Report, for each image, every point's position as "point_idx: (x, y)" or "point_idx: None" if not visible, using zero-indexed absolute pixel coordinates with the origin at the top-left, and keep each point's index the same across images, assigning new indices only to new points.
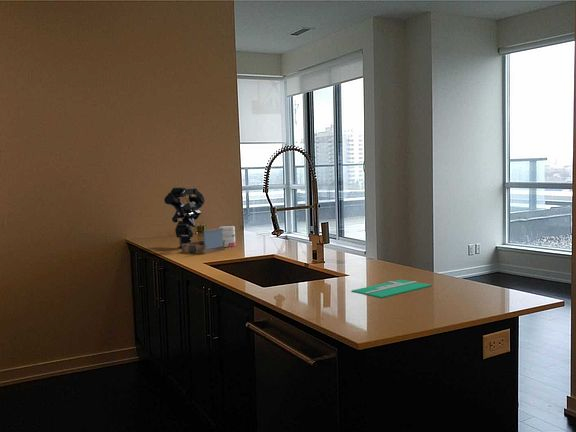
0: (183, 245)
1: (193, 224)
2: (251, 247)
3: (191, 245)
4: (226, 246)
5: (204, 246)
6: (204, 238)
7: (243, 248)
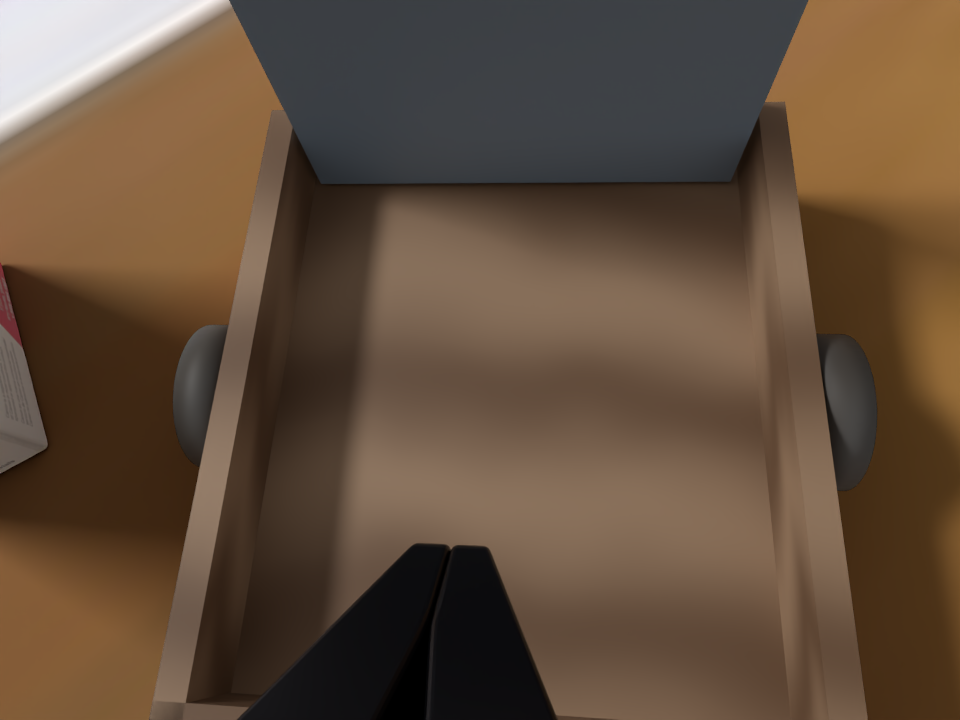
0: (851, 691)
1: (500, 598)
2: (47, 33)
3: (869, 372)
4: (23, 354)
5: (781, 111)
6: (793, 18)
7: (141, 62)
